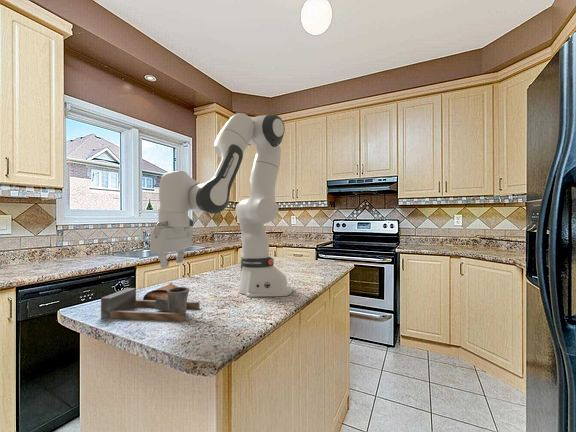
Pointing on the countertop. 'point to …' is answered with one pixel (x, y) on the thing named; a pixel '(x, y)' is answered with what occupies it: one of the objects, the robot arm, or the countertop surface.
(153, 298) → the sunglasses case
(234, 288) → the countertop surface
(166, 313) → the channel
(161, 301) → the pipe
